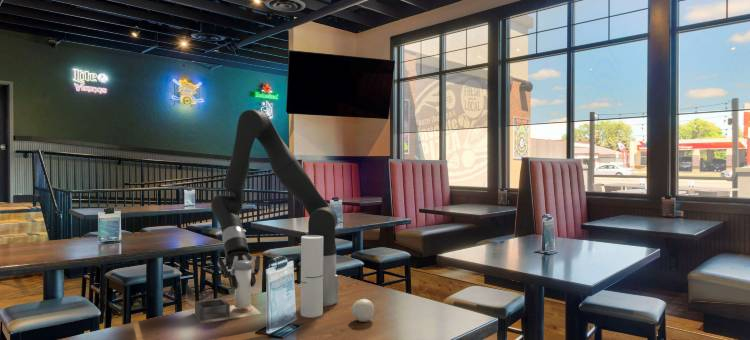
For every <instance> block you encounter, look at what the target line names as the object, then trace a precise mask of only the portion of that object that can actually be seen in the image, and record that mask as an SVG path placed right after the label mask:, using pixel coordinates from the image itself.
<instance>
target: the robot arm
mask: <svg viewBox="0 0 750 340" xmlns="http://www.w3.org/2000/svg"><path fill="white" fill-rule="evenodd" d="M235 133H236V134H235V138H234V145H233V149H232V155H231V159H230V162H229V165H228V168H227V172H226V175H225V178H224V181H223V188H225V189H226V190H227V191H229V192H232V193H233V194H232V195H225V194H216V195H215V196H214V197H213V198H212V200H211V204H210V207H211V211H212V213H213V216H214V217H215V219H216V221H217V222H218V224H219V226H220V229H221V234H222V245H223V249H224V254H225V258H224V259H221V258H219V259H218V261H217V264H216V266H217V268H218V269H219V272H220V273H221V275H222V277H223V279H227V278H228V279H229V280H230V286H231V288H233V289H234V290H235V289H236V288H237V280H236V277H235V269H234V262H235V261H240V260H249V261H252V264H253V265H254V268H253V267H252V268H251V287H253V288H254V286H255V285H256V283H257V280H256V278H257V277H256V275H258V274H259V272H260V266H261V265H260V264H261V256H260V255H256V256H252V255H251V253H250V249H249V246H248V242H247V241H248V240H247V237H246V234H245V231H244V229H243V223H242V220H241V218H240V216H239V215H240V213H241V212H242V210H243V197H244V187H245V185H246V181H247V179H248V176H249V171H250V164H251V163H250V161H251V160H250V158H251V150H252V148H253V145H254V142H255V140H256V139H257V141H258V142H259V144H260V145H261V146H262V148H263V149H264V150H265V152H266V155H267V158H268V160H269V163H270V166H271V170H272V172H273V173H274V175H275V176H276V177H277V179H278V181H280V183H281V185H282V186H283V187H284V188H285V190H286V191H288V193H290V194H291V195H292V197H294V198H295V199H296V200H297V201H298V202H299V203H300V204H301V205H302V206H303V208H304V210H305V211H306V212H307V214H308V216H309V217H308V223H307V231H308V232H307V233H308V234H307V235H320V236H323V307H327V306H328V307H330V306H332V305H334V304H338V303H339V276H338V274H337V245H336V227H337V225H338V215H337V213H336V211H335V210H334V209H333V208H332V207H331V206H330V204H329V203H328V202H327V201H326V199H324V198H323V197H322V195H321V194H320V193H319V192H318V189H317V188H316V187H315V185H314V183H313V182H312V180H311V178H310V177H309V175H308V174H307V172H306V170H305V169H304V167H303V166H302V164H301V163H300V162H299V161H298V159H297V157H295V155H294V154H293V152H292V151H291V150H290V148H289V147H288V145H287V144H286V143H285V142H284V140H283V139H282V137H281V136H280V134H279V132H278V131H277V129H276V127H275V126H274V124H273V122H272V120H271V118H270V116H269V115H268V114H267V113H265V112H264V111H262V110H259V109H246V110H244V111H243V112H242V113H241V114H240V115H239V117H238V120H237V126H236V132H235ZM226 264H227V265H228V266H229V267H230V272H229V270H228V269H227V266H226Z"/></svg>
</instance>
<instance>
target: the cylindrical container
mask: <svg viewBox="0 0 750 340" xmlns="http://www.w3.org/2000/svg"><path fill="white" fill-rule="evenodd" d="M323 307H324V306H323V236H320V235H308V234H307V235H302V236H301V237H300V316H301V317H304V318H318V317H321V316H323V313H324V308H323Z"/></svg>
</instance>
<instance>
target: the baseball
mask: <svg viewBox="0 0 750 340" xmlns="http://www.w3.org/2000/svg"><path fill="white" fill-rule="evenodd" d="M350 314H351V316H353V317H354V319H355V320H357V321H359V322H361V323H362V322H365V323H366V322H368V321H370V320H371V319H372V318H373V317H374V315H375V306H374V304H373V302H372V301H371V300H369V299H367V298H361V299H358V300H356V301H355V302H354V303H353V305H351V308H350Z"/></svg>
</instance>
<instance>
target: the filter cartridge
mask: <svg viewBox="0 0 750 340" xmlns="http://www.w3.org/2000/svg"><path fill="white" fill-rule="evenodd" d="M251 268H253V261H252V260H251V261H249V260H240V261H235V262H234V269H235V274H234V275H235V277H236V280H237V288H236V289H234V305H235V307H237V308H245V307H249V306H251V305H252V304H251V303H252V301H251V300H252V295H251V294H252V288H251Z"/></svg>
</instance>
